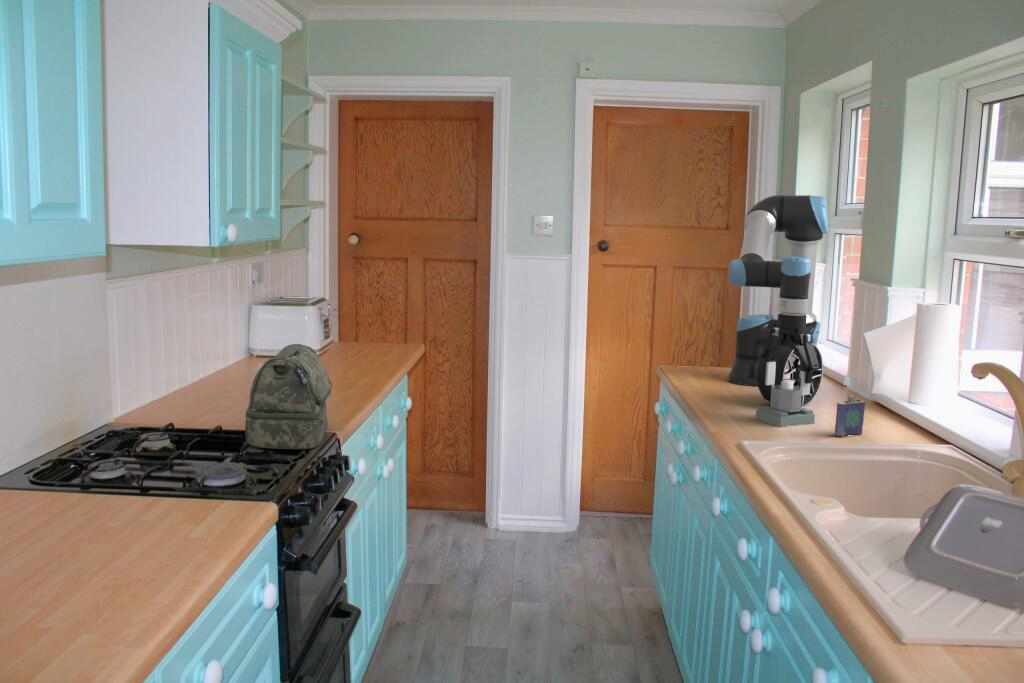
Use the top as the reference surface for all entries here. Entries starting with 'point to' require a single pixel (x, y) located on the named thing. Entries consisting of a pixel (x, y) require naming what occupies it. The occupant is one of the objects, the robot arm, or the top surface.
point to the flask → (849, 417)
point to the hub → (785, 399)
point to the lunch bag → (289, 401)
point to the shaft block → (785, 413)
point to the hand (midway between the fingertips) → (786, 389)
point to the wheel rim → (794, 374)
